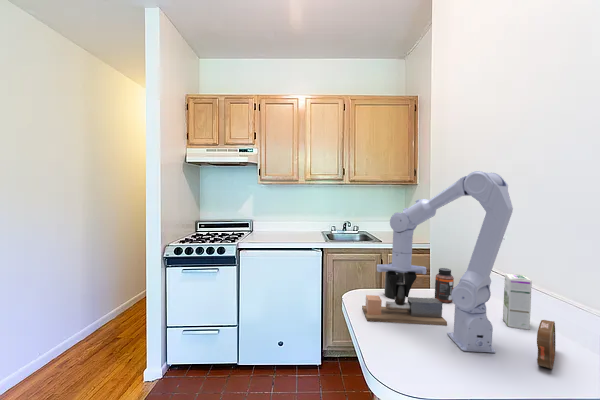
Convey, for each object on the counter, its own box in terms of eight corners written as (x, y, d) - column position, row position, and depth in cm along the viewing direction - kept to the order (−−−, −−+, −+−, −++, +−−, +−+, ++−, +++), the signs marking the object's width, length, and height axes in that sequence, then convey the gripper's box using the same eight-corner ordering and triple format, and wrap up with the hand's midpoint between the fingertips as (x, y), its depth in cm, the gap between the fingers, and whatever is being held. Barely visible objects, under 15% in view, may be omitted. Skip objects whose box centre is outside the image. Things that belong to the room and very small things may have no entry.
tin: (551, 375, 70) (553, 337, 70) (533, 370, 72) (535, 332, 72) (556, 351, 82) (558, 317, 81) (540, 346, 84) (542, 314, 83)
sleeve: (441, 318, 97) (442, 303, 97) (411, 316, 98) (411, 302, 98) (436, 312, 102) (436, 298, 102) (407, 310, 102) (407, 297, 102)
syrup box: (530, 330, 93) (533, 280, 93) (506, 326, 95) (509, 277, 95) (523, 322, 99) (526, 275, 98) (501, 319, 100) (504, 273, 100)
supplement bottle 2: (455, 303, 113) (457, 271, 113) (438, 303, 113) (440, 270, 113) (448, 298, 119) (449, 267, 119) (431, 297, 119) (433, 266, 119)
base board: (446, 325, 95) (447, 321, 95) (367, 321, 96) (367, 317, 96) (434, 312, 105) (434, 309, 105) (362, 308, 106) (362, 305, 106)
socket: (380, 314, 98) (381, 300, 98) (367, 314, 98) (368, 299, 98) (378, 309, 103) (378, 295, 102) (365, 308, 103) (365, 295, 103)
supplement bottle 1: (380, 294, 121) (381, 262, 120) (394, 292, 124) (396, 261, 123) (393, 300, 114) (394, 266, 114) (407, 298, 117) (409, 265, 117)
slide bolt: (430, 313, 98) (432, 287, 98) (387, 311, 99) (388, 285, 98) (427, 309, 101) (428, 284, 101) (385, 307, 102) (386, 282, 101)
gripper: (421, 250, 103) (419, 292, 104) (375, 248, 104) (373, 290, 104) (429, 254, 96) (427, 300, 97) (380, 252, 97) (378, 297, 97)
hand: (399, 295), depth 100 cm, fingers closed on slide bolt, 3 cm apart
